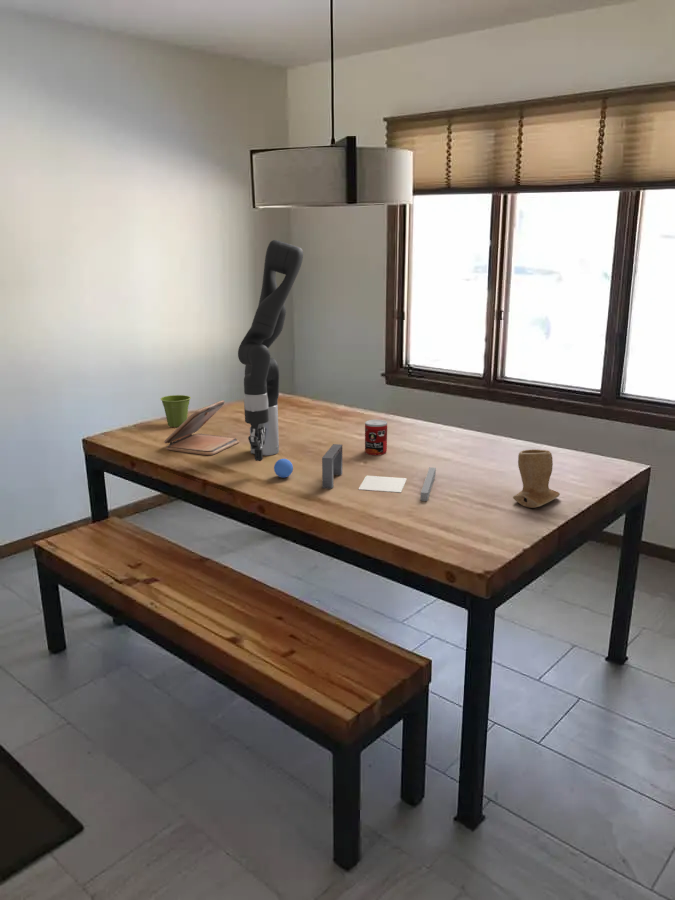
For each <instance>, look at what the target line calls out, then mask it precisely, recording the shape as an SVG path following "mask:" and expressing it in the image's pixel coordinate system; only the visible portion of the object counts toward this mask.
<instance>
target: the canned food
mask: <svg viewBox="0 0 675 900" xmlns="http://www.w3.org/2000/svg"><path fill="white" fill-rule="evenodd" d="M364 424H365V426H364V451H365V454H367V455H369V456H383V455H384V454H386V453H387V451H388V449H387V448H388V422H387V421H386V420H383V419H368V420H367V421H365V423H364Z"/></svg>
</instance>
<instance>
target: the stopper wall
mask: <svg viewBox="0 0 675 900" xmlns="http://www.w3.org/2000/svg"><path fill="white" fill-rule="evenodd" d="M436 471H437V468H436V467H429V468H428V471H427V474H426V477H425V479H424V482H423V485H422V488H421V491H420V501H422V502H428V501H429V497H430V494H431V491H432V488H433V484H434V481H435V478H436V476H437V475H436Z"/></svg>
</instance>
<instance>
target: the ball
mask: <svg viewBox="0 0 675 900" xmlns="http://www.w3.org/2000/svg"><path fill="white" fill-rule="evenodd" d="M293 470H294V466H293V463H292V462H291V461H290V460H289V459H288V458H280V459H278V460H277V461H276V462H275V463H274V466H273V471H274V473H275V475H276V476H277V477H279V478H283V479H284V478H288V477H290V476H291V475H292V474H293Z"/></svg>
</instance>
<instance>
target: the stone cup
mask: <svg viewBox="0 0 675 900" xmlns="http://www.w3.org/2000/svg"><path fill="white" fill-rule="evenodd" d="M517 458H518V459H517V464H518V465H517V467H518V470H519V474H520V477H521V482H522V489H521V491H519V492H518V493H517V494H515V495H514V496H512V499H514V501H515V502H516V503H519V504H520V505H521V506H522V507H526V508H529V509H530V508H532V509H533V508H539V507H542V506H544V505H546V504H548V503H550V502H552V501H554V500H555V499H557V498H558V497H559V496H560V494H561V493H560V492H559V491H557V490H554V489H551V488H550V487H549V486H550V485H549V483H550V480H551V475H552V473H553V467H554V466H553V465H554V463H553V454H552V452H551V451H550V450H547V449H539V448H537V449H524V450H520V451H519V453H518V456H517Z"/></svg>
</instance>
